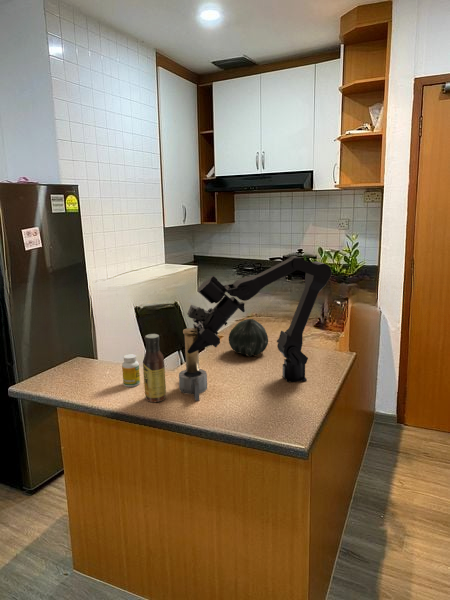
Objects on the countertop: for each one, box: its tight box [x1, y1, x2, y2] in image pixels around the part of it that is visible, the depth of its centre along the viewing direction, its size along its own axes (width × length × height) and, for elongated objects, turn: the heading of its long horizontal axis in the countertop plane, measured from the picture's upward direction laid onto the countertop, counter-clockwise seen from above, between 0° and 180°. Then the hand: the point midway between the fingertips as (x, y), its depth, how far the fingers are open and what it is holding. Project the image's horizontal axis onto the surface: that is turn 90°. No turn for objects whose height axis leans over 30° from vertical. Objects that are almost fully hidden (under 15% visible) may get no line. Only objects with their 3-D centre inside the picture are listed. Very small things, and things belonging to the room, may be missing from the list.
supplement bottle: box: [121, 353, 141, 388], centre depth 143 cm, size 5×5×10 cm
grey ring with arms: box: [178, 368, 208, 402], centre depth 139 cm, size 18×8×5 cm, turn 11°
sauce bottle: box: [142, 333, 167, 403], centre depth 130 cm, size 7×6×20 cm
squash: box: [228, 318, 269, 357], centre depth 170 cm, size 14×15×15 cm
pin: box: [182, 327, 200, 373], centre depth 136 cm, size 5×5×13 cm
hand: (187, 350), depth 136 cm, fingers closed on pin, 4 cm apart
